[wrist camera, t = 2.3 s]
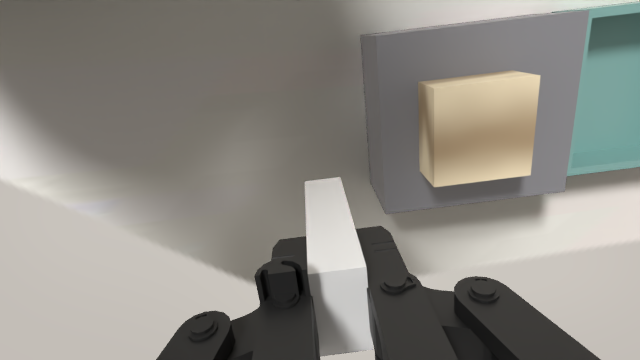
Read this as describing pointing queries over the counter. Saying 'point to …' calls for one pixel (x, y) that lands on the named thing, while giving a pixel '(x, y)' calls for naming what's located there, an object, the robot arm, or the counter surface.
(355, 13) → the counter surface
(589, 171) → the box
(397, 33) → the gray rectangular block
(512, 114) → the tile
